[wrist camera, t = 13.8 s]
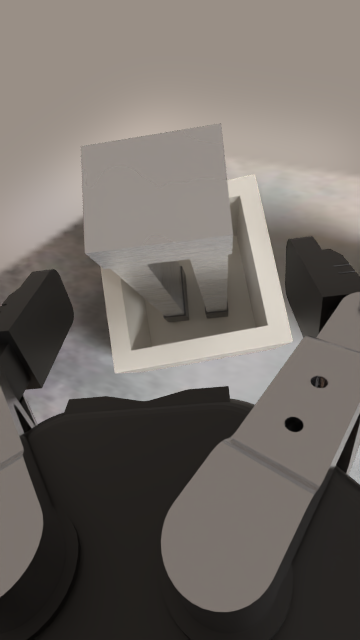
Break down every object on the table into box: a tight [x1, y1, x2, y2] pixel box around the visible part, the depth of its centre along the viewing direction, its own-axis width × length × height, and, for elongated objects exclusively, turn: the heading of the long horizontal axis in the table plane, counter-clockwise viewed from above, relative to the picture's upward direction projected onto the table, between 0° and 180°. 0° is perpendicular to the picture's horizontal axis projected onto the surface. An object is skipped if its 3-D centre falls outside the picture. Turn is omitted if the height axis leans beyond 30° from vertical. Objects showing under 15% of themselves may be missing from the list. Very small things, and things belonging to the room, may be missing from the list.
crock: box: [100, 174, 293, 373], centre depth 21 cm, size 9×9×6 cm
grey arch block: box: [81, 123, 233, 322], centre depth 16 cm, size 4×3×14 cm
